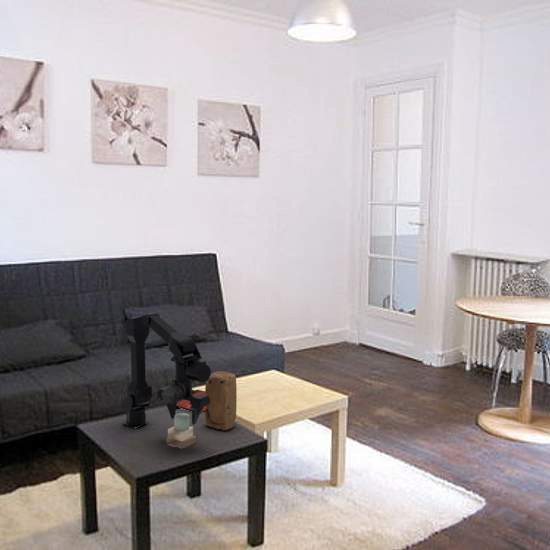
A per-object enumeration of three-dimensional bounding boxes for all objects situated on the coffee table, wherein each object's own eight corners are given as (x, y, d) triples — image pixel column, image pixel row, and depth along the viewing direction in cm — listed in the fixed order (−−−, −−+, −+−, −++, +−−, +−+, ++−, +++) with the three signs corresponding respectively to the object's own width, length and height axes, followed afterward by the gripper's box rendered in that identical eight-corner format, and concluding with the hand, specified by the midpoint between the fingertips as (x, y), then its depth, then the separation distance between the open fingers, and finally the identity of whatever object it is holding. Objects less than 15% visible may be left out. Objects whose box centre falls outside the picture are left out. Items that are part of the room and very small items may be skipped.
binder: (167, 402, 251) (196, 388, 270) (166, 408, 251) (196, 394, 270) (201, 411, 244) (229, 396, 263) (201, 417, 244) (229, 401, 263)
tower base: (166, 446, 214) (166, 437, 214) (180, 439, 220) (180, 431, 220) (182, 451, 210) (182, 442, 210) (196, 444, 216) (196, 436, 216)
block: (238, 426, 232) (238, 373, 229) (226, 433, 225) (227, 378, 223) (213, 420, 237) (213, 368, 235) (201, 427, 231) (201, 373, 228)
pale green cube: (171, 429, 213) (171, 416, 213) (181, 424, 218) (181, 412, 217) (182, 432, 211) (182, 419, 210) (192, 428, 215) (192, 415, 214)
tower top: (167, 438, 214) (167, 429, 213) (178, 432, 219) (178, 423, 218) (182, 441, 211) (182, 432, 210) (192, 435, 216) (193, 427, 216)
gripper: (145, 376, 210) (145, 422, 212) (189, 387, 200) (189, 435, 202) (168, 369, 219) (168, 413, 221) (211, 378, 209) (211, 424, 211)
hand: (183, 421), depth 214 cm, fingers open, 9 cm apart
